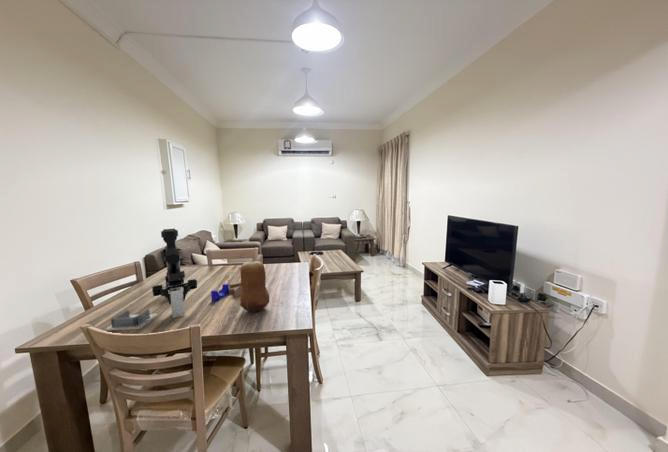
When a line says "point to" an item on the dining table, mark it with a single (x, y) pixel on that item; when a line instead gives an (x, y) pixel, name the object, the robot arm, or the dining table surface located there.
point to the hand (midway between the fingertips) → (177, 302)
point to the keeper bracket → (131, 320)
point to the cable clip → (220, 293)
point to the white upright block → (177, 302)
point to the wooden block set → (235, 288)
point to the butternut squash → (253, 286)
